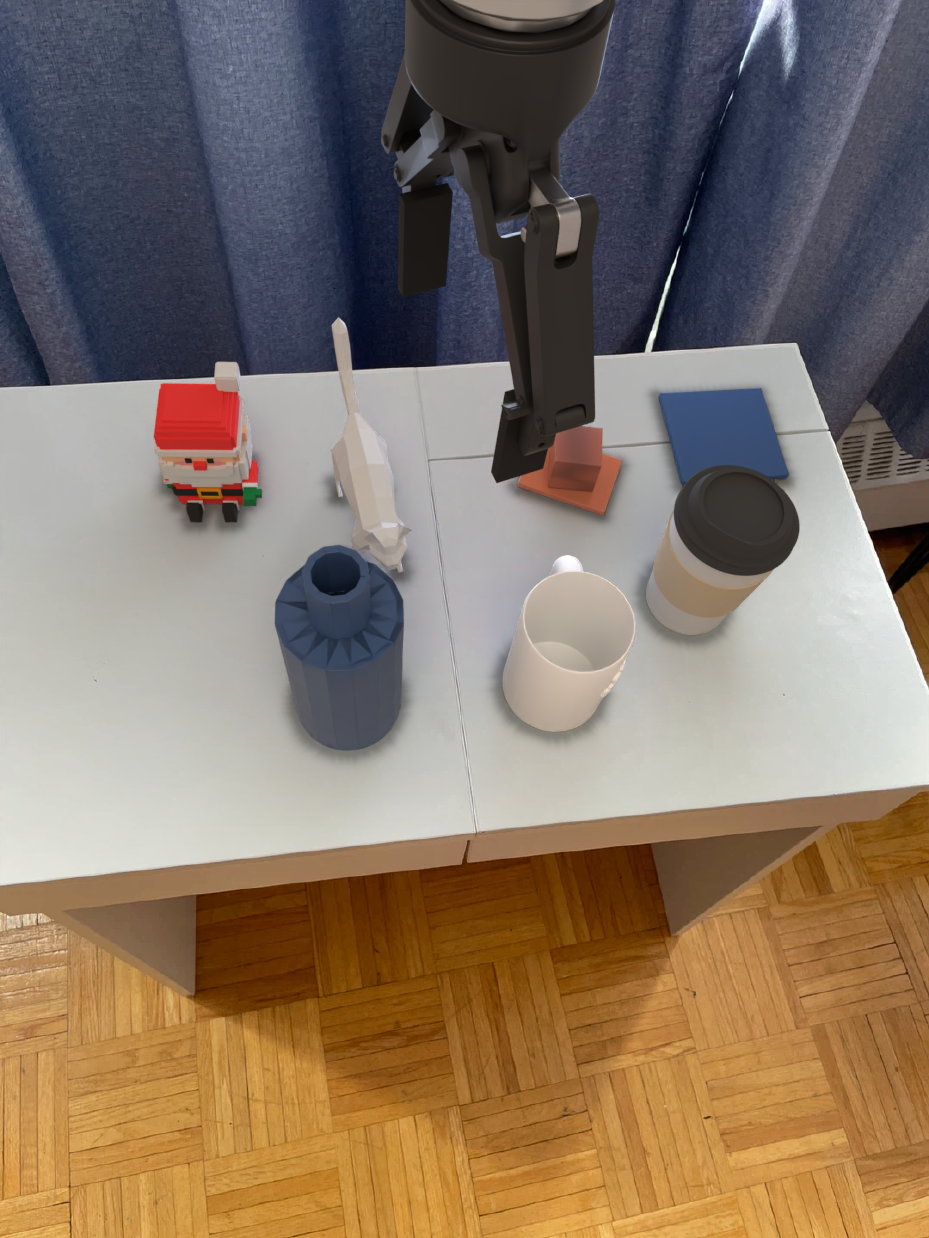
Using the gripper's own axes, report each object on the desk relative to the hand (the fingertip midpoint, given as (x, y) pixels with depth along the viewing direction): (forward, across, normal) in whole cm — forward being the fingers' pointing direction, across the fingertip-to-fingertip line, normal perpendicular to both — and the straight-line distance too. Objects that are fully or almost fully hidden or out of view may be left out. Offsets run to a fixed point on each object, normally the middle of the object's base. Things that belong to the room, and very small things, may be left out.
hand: (467, 375), depth 52 cm
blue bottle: (+28, +6, -10) cm, 30 cm away
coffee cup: (+28, +7, +20) cm, 35 cm away
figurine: (+28, -17, -14) cm, 36 cm away
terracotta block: (+28, -8, +16) cm, 33 cm away
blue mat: (+28, -7, +31) cm, 42 cm away
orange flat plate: (+28, -8, +16) cm, 33 cm away
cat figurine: (+28, -10, -3) cm, 30 cm away
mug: (+28, +8, +6) cm, 30 cm away
